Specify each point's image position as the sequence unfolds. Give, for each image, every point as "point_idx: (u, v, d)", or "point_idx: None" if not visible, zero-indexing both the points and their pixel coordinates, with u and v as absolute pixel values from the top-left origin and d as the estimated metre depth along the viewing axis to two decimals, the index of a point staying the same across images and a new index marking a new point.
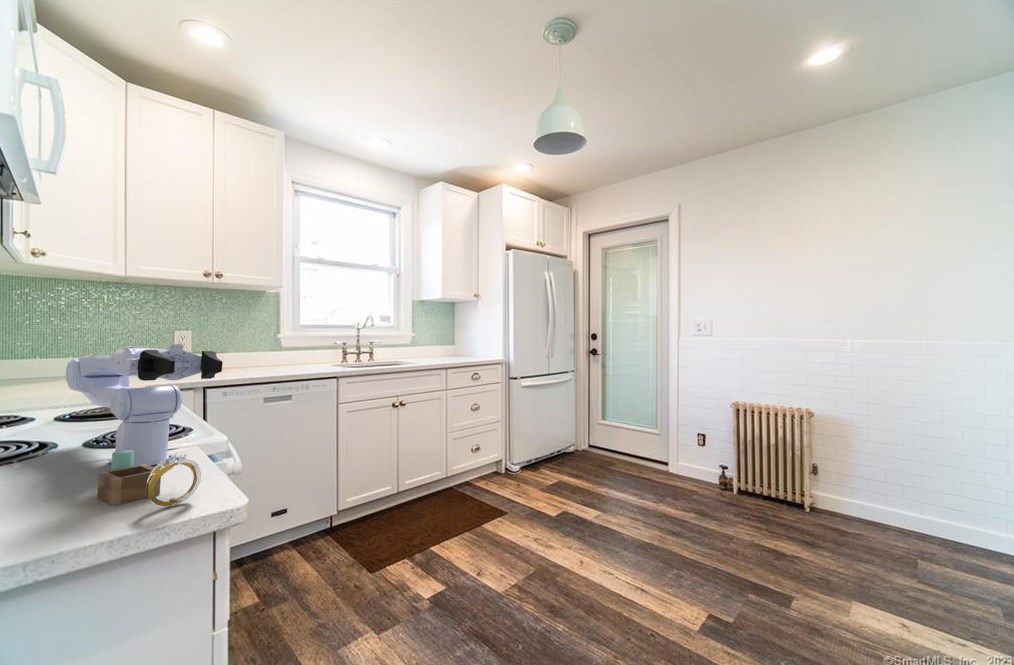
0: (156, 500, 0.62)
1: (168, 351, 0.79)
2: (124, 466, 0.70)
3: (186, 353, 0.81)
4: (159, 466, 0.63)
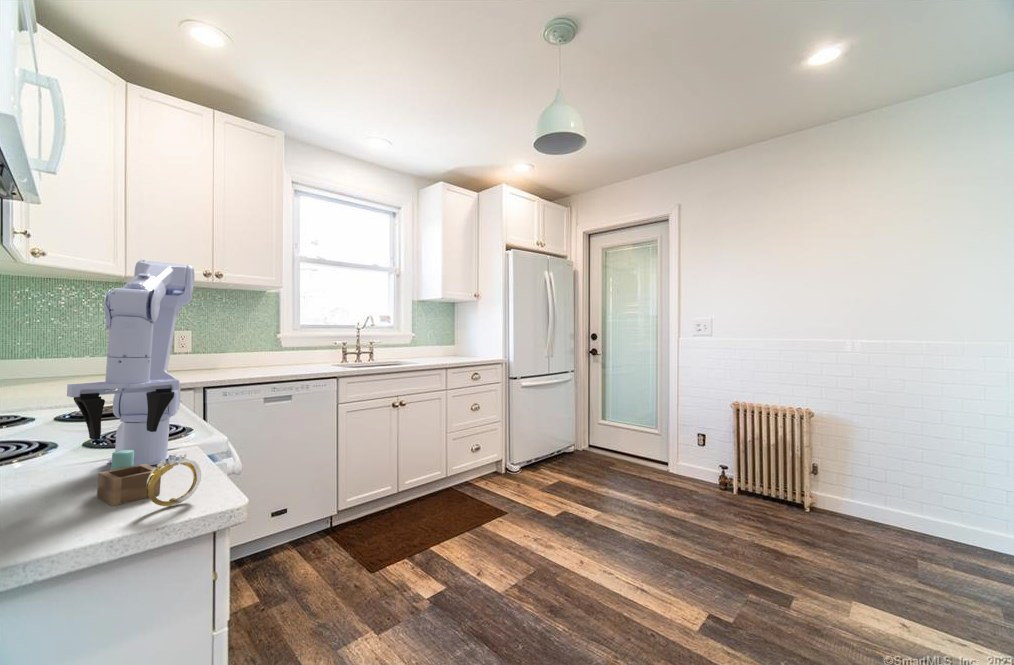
0: (156, 500, 0.62)
1: (124, 388, 0.69)
2: (124, 466, 0.70)
3: (145, 386, 0.72)
4: (159, 466, 0.63)
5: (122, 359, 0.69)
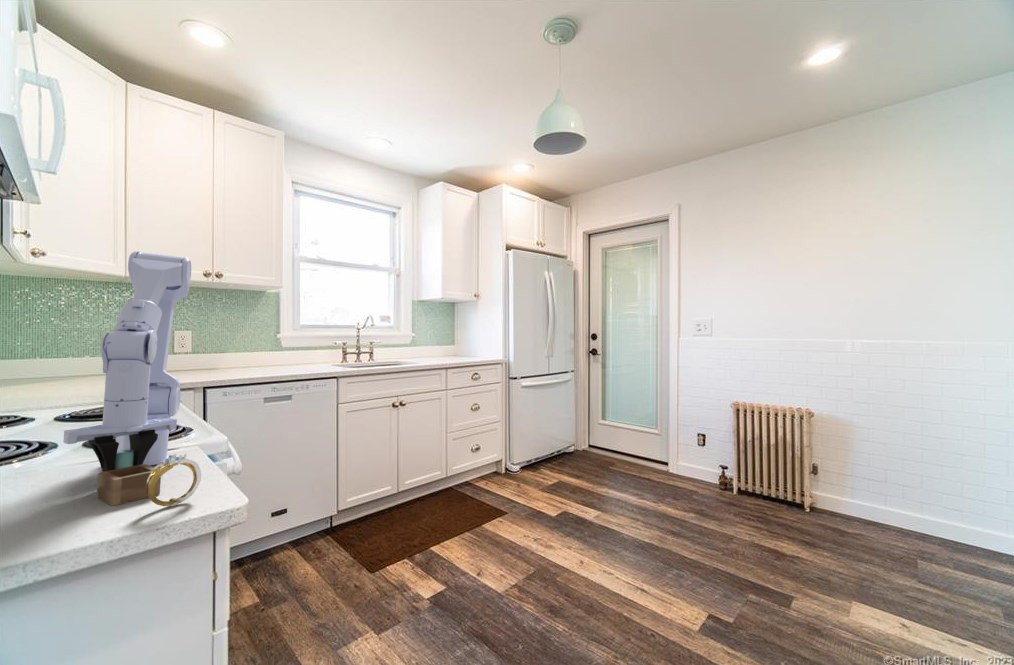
0: (156, 500, 0.62)
1: None
2: (124, 466, 0.70)
3: (142, 428, 0.72)
4: (159, 466, 0.63)
5: (119, 403, 0.69)
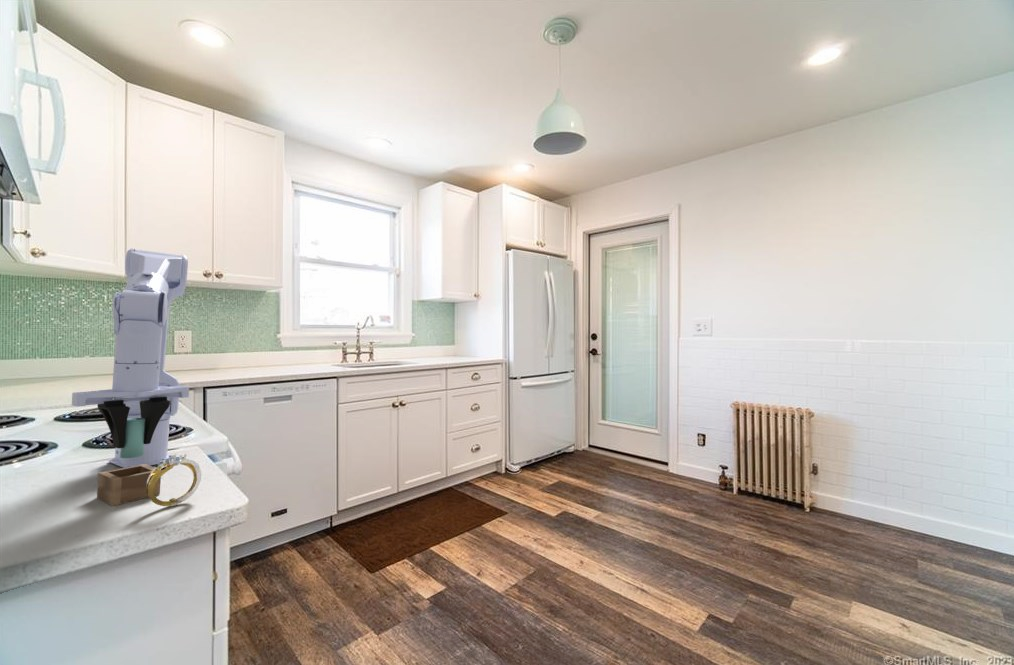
0: (156, 500, 0.62)
1: None
2: (135, 434, 0.67)
3: (154, 394, 0.68)
4: (159, 466, 0.63)
5: (130, 365, 0.65)
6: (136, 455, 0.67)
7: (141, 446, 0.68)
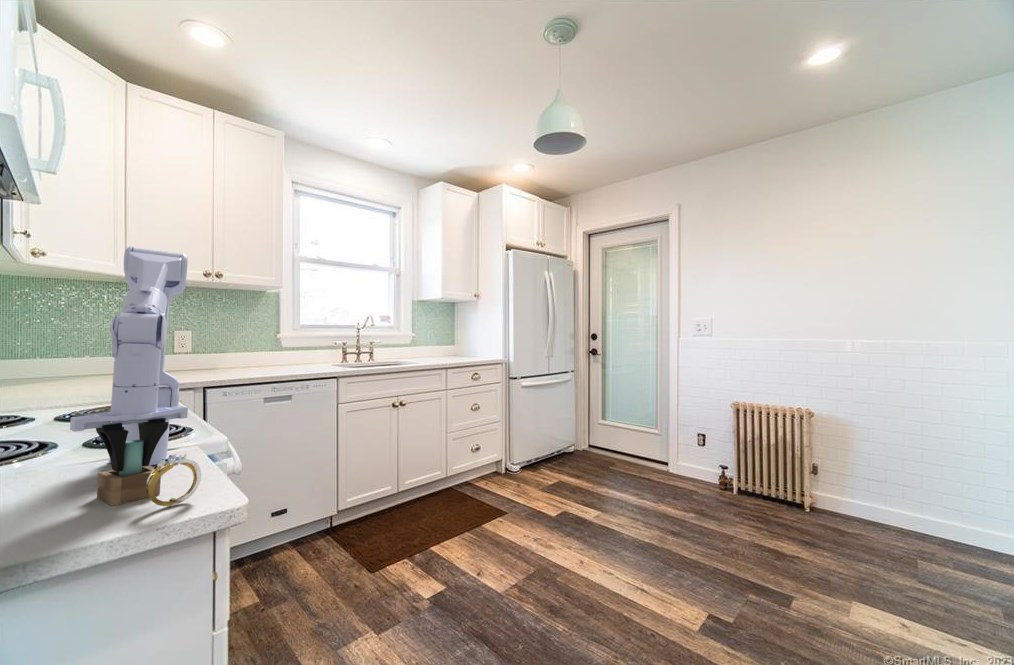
0: (156, 500, 0.62)
1: None
2: (133, 456, 0.67)
3: (152, 416, 0.68)
4: (159, 466, 0.63)
5: (128, 389, 0.65)
6: None
7: (140, 469, 0.68)
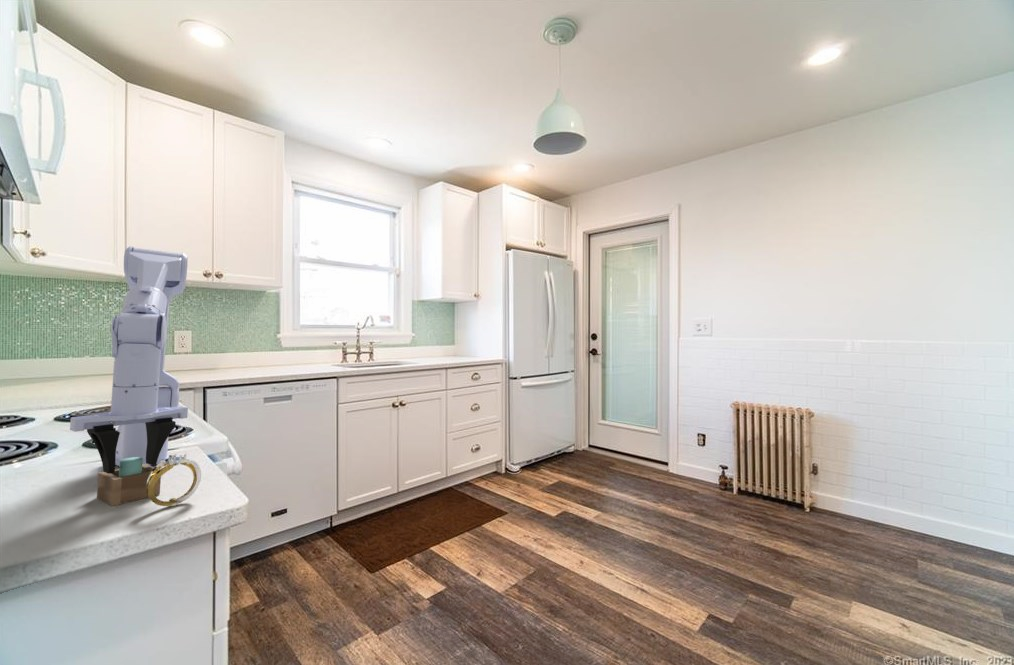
0: (156, 500, 0.62)
1: None
2: (132, 474, 0.67)
3: (152, 416, 0.68)
4: (159, 466, 0.63)
5: (128, 389, 0.65)
6: None
7: None
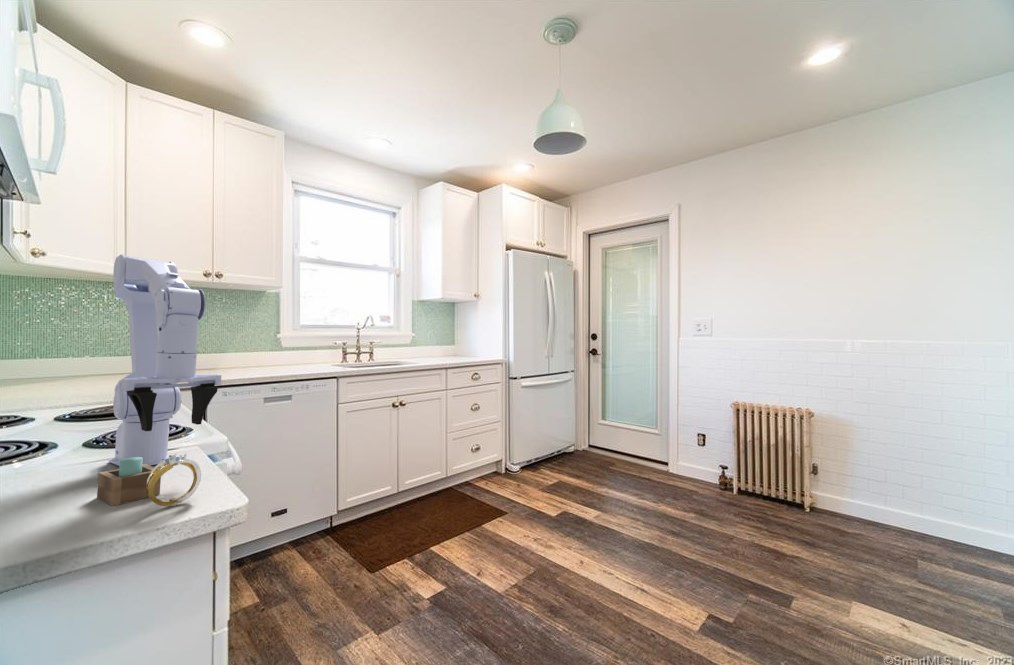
0: (156, 500, 0.62)
1: (173, 382, 0.73)
2: (132, 474, 0.67)
3: (191, 381, 0.76)
4: (159, 466, 0.63)
5: (172, 355, 0.73)
6: None
7: None
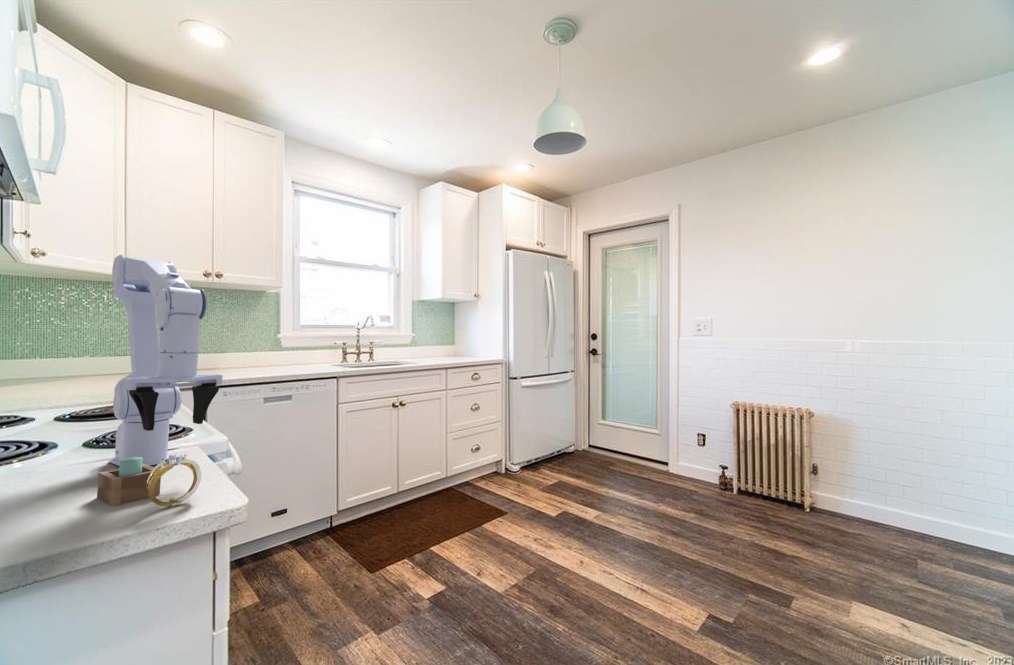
0: (156, 500, 0.62)
1: (175, 382, 0.73)
2: (132, 474, 0.67)
3: (193, 381, 0.76)
4: (159, 466, 0.63)
5: (173, 354, 0.73)
6: None
7: None
